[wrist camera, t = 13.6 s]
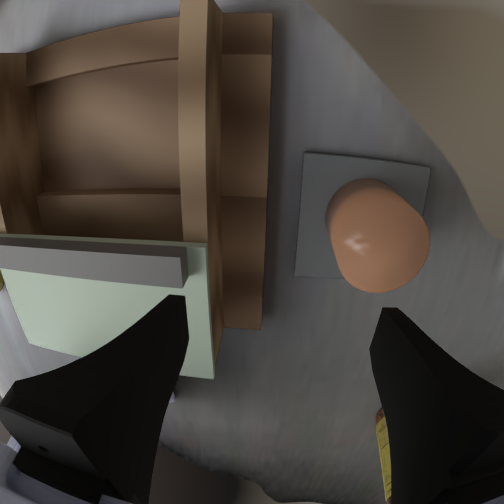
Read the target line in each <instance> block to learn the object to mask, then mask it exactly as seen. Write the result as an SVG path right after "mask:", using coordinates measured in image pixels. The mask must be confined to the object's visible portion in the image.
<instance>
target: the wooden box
mask: <svg viewBox="0 0 504 504" xmlns="http://www.w3.org/2000/svg"><path fill="white" fill-rule="evenodd" d="M272 37H273V15H272V13H222V11H221V10H220V8H219V7H218V6H217V4H216V3H215V1H214V0H181V1H180V17H172V18H164V19H157V20H150V21H144V22H138V23H133V24H127V25H122V26H118V27H113V28H109V29H104V30H100V31H96V32H92V33H88V34H84V35H81V36H77V37H74V38H70V39H67V40H64V41H60V42H57V43H54V44H51V45H48V46H45V47H42V48H40V49H37V50H34V51H31V52H29V53H0V233H4V234H27V235H50V236H72V237H94V238H115V239H136V240H156V241H176V242H195V243H207V246H208V268H209V288H210V306H211V322H212V337H213V351H214V364H215V363H216V359H217V355H218V350H219V346H220V342H221V337H222V333H223V329H224V327H227V328H240V329H254V330H261V322H262V306H263V286H264V265H265V242H266V219H267V194H268V168H269V140H270V110H271V76H272Z"/></svg>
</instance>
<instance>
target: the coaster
mask: <svg viewBox="0 0 504 504" xmlns="http://www.w3.org/2000/svg"><path fill="white" fill-rule="evenodd" d="M430 170H431V168H430V167H428V166H424V165H418V164H411V163H405V162H398V161H390V160H383V159H375V158H366V157H358V156H348V155H338V154H327V153H315V152H303V167H302V182H301V196H300V209H299V221H298V233H297V245H296V256H295V266H294V276H302V277H322V278H343V279H345V278H344V276H343V275H342V273H341V271H340V269H339V267H338V263H337V260H336V257H335V254H334V250H333V247H332V244H331V241H330V238H329V235H328V232H327V228H326V223H325V215H326V209H327V206H328V204H329V201H330V200H331V198H332V196H333V195H334V194H335V192H336V191H337V190H338V189H340V188H341V187H342V186H343V185H345V184H347V183H349V182H351V181H353V180H357V179H362V178H370V179H376V180H379V181H381V182H384V183H385V184H387V185H388V186H389V187H391V188H392V189H393V190H394V191H395V192H396V193H397V194H398V195H400V196H401V197H402V198H403V199H404V200H405V201H406V202H407V203H408V204H409V205H410V206H411V207H412V208H414V209H415V210H416V211H417V212H418V213H419V214H420V216H421V217H422V215H423V210H424V205H425V200H426V194H427V189H428V183H429V177H430Z"/></svg>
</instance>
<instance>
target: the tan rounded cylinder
mask: <svg viewBox="0 0 504 504" xmlns="http://www.w3.org/2000/svg"><path fill="white" fill-rule="evenodd" d="M325 223H326V228H327V232H328V235H329V238H330V241H331V244H332V247H333V250H334V254H335V257H336V260H337V263H338V267H339V269H340V271H341V273H342V275H343V276H344V278H345V279H346V280H347V281H348V282H349V283H350V284H351V285H353V286H354V287H356V288H358V289H360V290H362V291H366V292H371V293H383V292H389V291H392V290H395V289H397V288H400V287H402V286H403V285H405V284H406V283H408V282H409V281H411V280H412V279H413V278H414V277H415V276H416V275H417V274H418V272H419V271H420V270H421V268H422V267H423V265H424V263H425V261H426V259H427V256H428V252H429V247H430V236H429V231H428V228H427V225H426V223H425V221H424V220H423V218H422V217H421V216H420V214H419V213H418V212H417V211H416V210H415V209H414V208H412V207H411V206H410V205H409V204H408V203H407V202H406V201H405V200H404V199H403V198H402V197H401V196H400V195H398V194H397V193H396V192H395V191H394V190H393V189H392V188H391V187H389V186H388V185H387V184H385V183H384V182H381V181H379V180H376V179H370V178H362V179H357V180H353V181H351V182H349V183H347V184H345V185H343V186H342V187H341V188H340V189H338V190H337V191H336V192H335V194H334V195H333V196H332V198H331V200H330V201H329V204H328V206H327V209H326V215H325Z"/></svg>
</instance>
